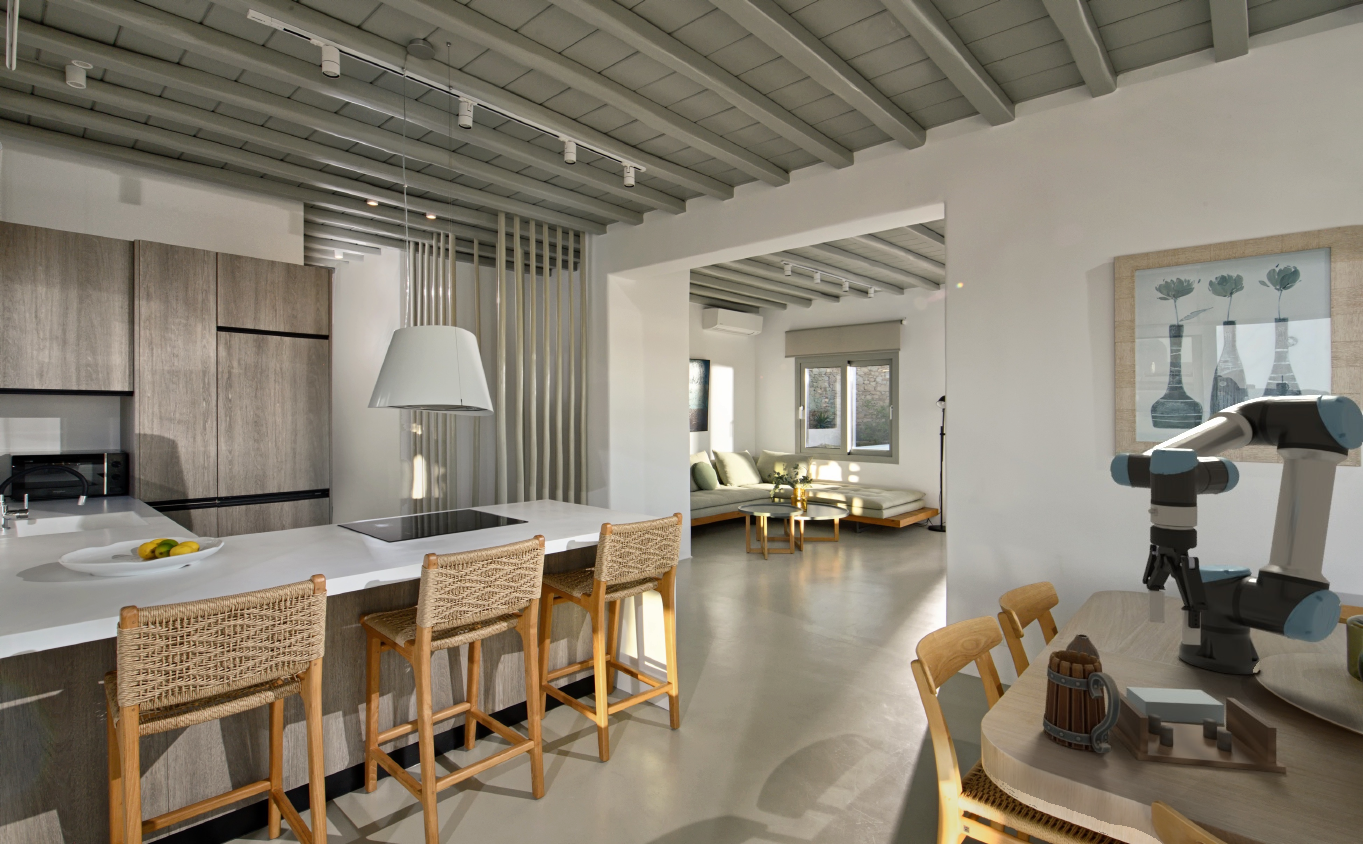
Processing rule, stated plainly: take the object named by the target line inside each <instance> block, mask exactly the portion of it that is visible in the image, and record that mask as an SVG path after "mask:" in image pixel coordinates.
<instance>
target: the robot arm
mask: <svg viewBox="0 0 1363 844" xmlns="http://www.w3.org/2000/svg"><path fill="white" fill-rule="evenodd" d="M1362 445H1363V412H1362V411H1361V408H1360V406H1359V405H1358V404H1357V403H1356V402H1355V401H1354V400H1353V399H1352V398H1350V397H1348V396H1344V395H1326V394H1318V395H1317V394H1316V395H1293V396H1288V395H1287V396H1263V397H1258V398H1254V399H1249V400H1246V401H1243V402H1240V403H1239V402H1238V403H1237V404H1234V405H1232V406H1229V407H1226V408H1224V409H1222V410H1220V411H1217V412H1215V413H1213V414H1211V415H1210V416H1209V418H1208V419H1207V420H1206V422H1204V423H1201V424H1200V425H1198V426H1196V427H1193V428H1191V429H1189V430H1186V431H1184V432H1183V433H1180V434H1178V435H1175V436H1174V437H1171V438H1169V439H1167V440H1166V441H1163V442H1161V443H1159V444H1157V445H1154V446H1152V447H1150V448H1148V449H1146V450H1143V451H1141V452H1137V453H1133V452H1125V453H1124V452H1121V453H1118V454H1117V455H1115V456H1114V458H1112V461H1111V462H1110V463H1111V464H1110V466H1109V467H1110V469H1109V471H1110V475H1111V479H1112V480H1113V481H1114V483H1116V484H1117V485H1120V486H1125V487H1131V488H1139V489H1148V490H1149V489H1150V502H1149V503H1150V508H1149V509H1148V510H1147V511H1148V514H1150V522H1151V523H1152V525H1151V526H1150V527H1149V542H1150V543H1151V544H1149V554H1148V558H1147V561H1146V566H1145V569H1144V573H1143V577H1142V584H1143V585H1146V589H1147V596H1148V598H1147V604H1148V605H1147V606H1148V607H1147V622H1149V623H1160V624H1165V605H1166V604H1165V595H1166V594H1165V591H1166V587H1165V584H1166V583H1167V580H1168V578H1169V577H1171V578H1173V579H1174V580H1175V583H1176V585H1177V589H1178V591H1179V592H1178V593H1179V594H1180V597H1181V599H1182V602H1183V606H1182V607H1180V610H1181V615H1182V616H1181V619H1182V620H1181V624H1182V625H1181V636H1182V637H1181V642H1180V643H1179V647H1178V657H1179V658H1180V659H1181V660H1182V661H1183V662H1185V663H1187V664H1190V665H1193V666H1195V667H1198V668H1201V669H1205V670H1208V671H1213V672H1217V673H1225V674H1231V675H1254V674H1253V669H1254V667H1255V666H1256V664H1257V663H1258V662H1259V661H1260V662H1261V660H1260V656H1259V654H1258V652H1257V649H1256V647H1255V644H1254V641H1253V638H1252V636H1251V629H1254V630H1257V631H1262V632H1265V633H1269V634H1273V635H1276V636H1281V637H1284V638H1287V639H1290V640H1295V641H1296V640H1298V641H1302V642H1305V643H1306V642H1307V643H1318V642H1322V641H1324V640H1325V639H1327V638H1328V637H1329V636H1330V635H1331V634H1333V632H1334V631H1335V629H1336V628H1337V625H1338V624H1339V622H1340V618H1341V614H1342V605H1341V599H1340V597H1339V595H1338V594H1336V593H1335V592H1333V591H1332V590H1330V584H1331V582H1330V581H1329V580H1328V579H1327V578H1326V577H1325V575H1324V574H1323V573H1322V570H1323V564H1324V559H1325V558H1324V556H1325V549H1326V544H1327V542H1326V541H1327V536H1328V531H1329V530H1328V529H1329V521H1330V514H1331V508H1332V507H1331V506H1332V500H1333V494H1334V493H1333V492H1334V485H1335V479H1336V470H1337V466H1339V464H1341V463H1342V462H1344V461H1346V460H1347V459H1348V457H1349V451H1351V450H1355V449H1359V448H1360V447H1362ZM1247 446H1248V447H1249V446H1267V447H1269V446H1271V447H1276V453H1277V454H1278V455H1279V456H1280V457H1281V458H1282V459H1283V464H1282V473H1281V477H1280V478H1281V480H1280V484H1279V485H1280V486H1279V493H1278V499H1277V500H1278V501H1277V506H1276V512H1275V513H1276V514H1275V520H1274V527H1273V534H1272V541H1271V547H1270V554H1269V560H1268V563H1267V564H1266V565H1264V566H1262V567H1260V568H1259V569H1258V574H1257V576H1253V575H1252V573H1253V572H1252V571H1251V569H1250V568H1249V567H1246V566H1241V565H1229V564H1228V565H1224V564H1220V565H1217V564H1215V565H1214V564H1210V565H1200V560H1199V557H1198V556H1190V555H1189V550H1190V549H1196V548H1197V546H1198V531H1197V529H1196V528H1195V527H1197V526H1198V495H1210V494H1211V495H1219V494H1223V493H1227V492H1230V491H1231V490H1233V489H1234V488H1235V487H1237V485H1238V483H1239V480H1240V471H1239V468H1238V467H1237V465H1236V464H1235V463H1234V462H1233V461H1232V460H1230V459H1228V458H1226V457H1221V456H1220V457H1219V456H1217V455H1220V454H1221V453H1224V452H1227V451H1228V450H1240V449H1242V448H1244V447H1247Z"/></svg>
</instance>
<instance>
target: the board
mask: <svg viewBox="0 0 1363 844" xmlns="http://www.w3.org/2000/svg"><path fill="white" fill-rule="evenodd" d="M1125 691H1126V693H1125V694H1126V696H1125V697H1126V698H1127V699H1128V700H1130V701H1131V702H1132V703H1133V704H1134V705H1135V706H1136V707H1137V708H1138V709H1139V710H1140V711H1141V712H1142V713H1143V714H1144V715H1145V716H1146V717H1148V714H1155V715H1158V716H1160V717H1161V722H1175V723H1177V722H1181V723H1200V724H1201V723H1202V724H1203V719H1204V718H1209V719H1213V720H1215V721H1217V724H1221V725H1224V723H1225V704H1223V703H1222V702H1221V701H1219V700H1217V699H1215V698H1214V697H1213V696H1211V695H1210V694H1208V693H1206V692H1205V691H1204V690H1202V689H1191V688H1190V689H1189V688H1188V689H1187V688H1185V689H1183V688H1167V687H1166V688H1163V687H1162V688H1161V687H1141V686H1140V687H1136V686H1126V690H1125Z"/></svg>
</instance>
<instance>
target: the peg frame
mask: <svg viewBox="0 0 1363 844" xmlns="http://www.w3.org/2000/svg"><path fill="white" fill-rule="evenodd" d="M1118 691H1119V695H1120V711H1119V717H1118V720H1117V722H1116V724H1115V725H1114V726H1113V727H1112V728H1111V729H1110V731H1111V732H1112V733H1113V734H1114V735H1115V736H1116V737H1117V739H1118V740H1120V742H1121V743H1122V744H1123V745H1124V746H1125V747H1126V748H1127V750H1128V751H1130V753H1131V754H1132V755H1133V756H1134V757H1135V759H1137V760H1138V761H1147V762H1149V761H1150V762H1159V763H1171V764H1180V765H1181V764H1183V765H1194V766H1205V767H1216V768H1225V769H1226V768H1227V769H1238V770H1248V771H1249V770H1251V771H1260V772H1261V771H1262V772H1269V773H1270V772H1271V773H1281V774H1283V773H1284V774H1286V773H1287V767H1286V766H1285V765H1284V764H1283V763H1281V762H1280V761H1279V760H1278V759H1277V727H1276V726H1275V725H1273V724H1271V723H1270V722H1269V721H1267V720H1266V719H1264V718H1263V717H1261V716H1260V715H1259V714H1257V713H1255V712H1254V710H1253V711H1252V710H1251V709H1250V708H1249V707H1247V706H1245V705H1244V704H1242V703H1241V702H1239V700H1237V699H1236V698H1234V697H1226V698H1225V726H1218V723H1217V721H1215V720H1213V719H1209V718H1204V719H1203V723H1202V724H1201V725H1200V724H1189V723H1177V722H1175V723H1174V722H1166V721H1161V717H1160V716H1158V715H1155V714H1148V717H1146V716H1145V715H1144V714H1143V713H1142V712H1141V711H1140V710H1139V709H1138V708H1137V707H1136V706H1135V705H1134V704H1133V703H1132V702H1131V701H1130V700H1128V699H1127V698H1126V696H1125V694H1123V693H1122V692H1121V691H1120V690H1119V689H1118Z"/></svg>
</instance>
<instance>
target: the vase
mask: <svg viewBox="0 0 1363 844" xmlns="http://www.w3.org/2000/svg"><path fill="white" fill-rule="evenodd" d="M1065 650H1066V652H1067V653H1068V651H1070V650H1071V651H1077V652H1078V654H1080V653H1081V652H1082V653H1086V654H1088V655H1089V657H1090V656H1094V657H1096V658H1097V659H1098V660H1100V661H1101V658H1100V654H1099V650H1098V649H1097V648H1096V646H1095V645H1094V643H1092V640H1090V637H1089V636H1088V635H1087V634H1084V633H1083V634H1082V633H1079V634H1076V635H1075V637H1074V639H1072V640H1071V641H1070V642H1069V643H1068V644H1067V646H1066V648H1065Z"/></svg>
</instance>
